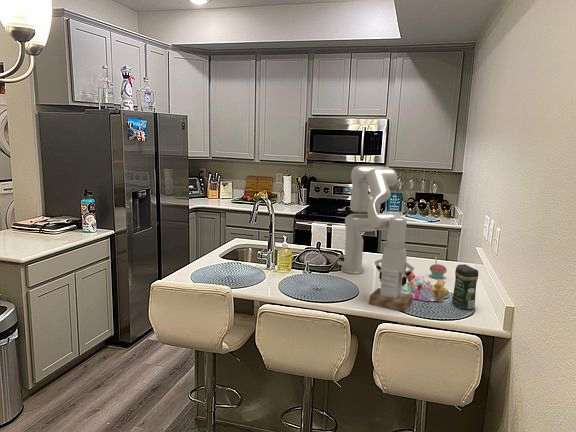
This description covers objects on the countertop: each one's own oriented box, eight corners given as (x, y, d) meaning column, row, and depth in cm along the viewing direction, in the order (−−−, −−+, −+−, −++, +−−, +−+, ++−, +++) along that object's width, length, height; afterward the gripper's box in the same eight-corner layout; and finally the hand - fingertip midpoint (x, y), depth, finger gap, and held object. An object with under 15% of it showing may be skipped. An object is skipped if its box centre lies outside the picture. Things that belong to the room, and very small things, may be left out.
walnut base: (368, 304, 195) (369, 295, 194) (377, 296, 205) (378, 287, 204) (405, 312, 187) (405, 303, 187) (412, 303, 198) (412, 295, 197)
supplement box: (385, 290, 201) (387, 264, 198) (401, 294, 197) (403, 267, 194) (379, 295, 195) (381, 268, 192) (395, 299, 191) (398, 271, 188)
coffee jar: (448, 302, 200) (452, 263, 197) (463, 301, 202) (468, 262, 199) (461, 311, 191) (466, 269, 188) (477, 309, 193) (482, 269, 190)
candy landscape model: (451, 291, 217) (453, 272, 215) (446, 307, 196) (449, 287, 194) (399, 282, 227) (401, 265, 225) (390, 296, 206) (392, 277, 204)
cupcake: (428, 278, 234) (430, 256, 232) (429, 273, 242) (431, 252, 239) (445, 280, 231) (447, 258, 229) (446, 276, 239) (448, 254, 236)
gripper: (373, 243, 192) (370, 281, 195) (413, 250, 184) (410, 289, 187) (378, 240, 199) (376, 276, 202) (417, 246, 190) (414, 284, 194)
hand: (392, 282), depth 194 cm, fingers open, 9 cm apart
